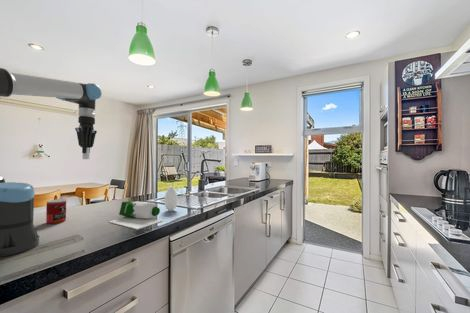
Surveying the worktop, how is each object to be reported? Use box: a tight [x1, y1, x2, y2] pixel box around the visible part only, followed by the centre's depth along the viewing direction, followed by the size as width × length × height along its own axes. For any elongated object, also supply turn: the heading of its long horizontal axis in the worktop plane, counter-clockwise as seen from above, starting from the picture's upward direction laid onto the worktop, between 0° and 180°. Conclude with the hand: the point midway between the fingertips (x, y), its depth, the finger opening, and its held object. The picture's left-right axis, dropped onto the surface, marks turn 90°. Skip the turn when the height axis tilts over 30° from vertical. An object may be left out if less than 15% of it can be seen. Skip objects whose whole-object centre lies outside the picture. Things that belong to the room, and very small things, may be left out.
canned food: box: [45, 198, 67, 225], centre depth 107 cm, size 8×8×11 cm
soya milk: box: [118, 200, 161, 219], centre depth 115 cm, size 9×9×20 cm
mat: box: [108, 216, 164, 231], centre depth 109 cm, size 22×15×1 cm
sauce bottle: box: [163, 182, 178, 212], centre depth 133 cm, size 8×8×18 cm
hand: (85, 159), depth 116 cm, fingers closed
